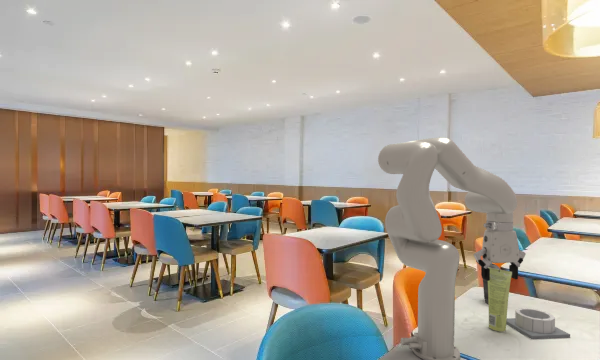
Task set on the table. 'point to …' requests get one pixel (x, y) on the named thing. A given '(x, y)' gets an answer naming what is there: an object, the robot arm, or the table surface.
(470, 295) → the table surface
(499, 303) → the tube
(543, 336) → the socket board
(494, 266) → the beverage cup
